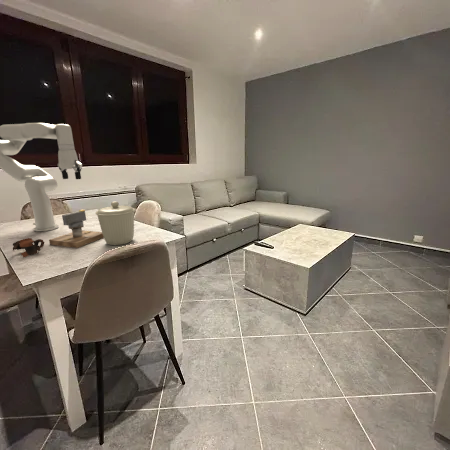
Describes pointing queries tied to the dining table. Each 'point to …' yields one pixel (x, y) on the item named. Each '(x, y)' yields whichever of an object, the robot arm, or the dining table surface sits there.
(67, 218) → the cap
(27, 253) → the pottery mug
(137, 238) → the dining table surface
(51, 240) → the base
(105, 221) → the canister
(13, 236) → the dining table surface
